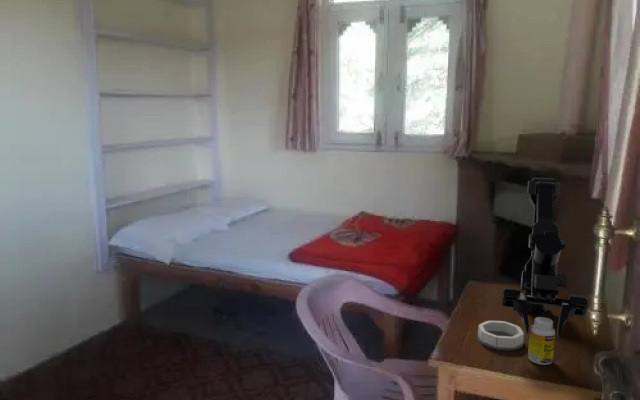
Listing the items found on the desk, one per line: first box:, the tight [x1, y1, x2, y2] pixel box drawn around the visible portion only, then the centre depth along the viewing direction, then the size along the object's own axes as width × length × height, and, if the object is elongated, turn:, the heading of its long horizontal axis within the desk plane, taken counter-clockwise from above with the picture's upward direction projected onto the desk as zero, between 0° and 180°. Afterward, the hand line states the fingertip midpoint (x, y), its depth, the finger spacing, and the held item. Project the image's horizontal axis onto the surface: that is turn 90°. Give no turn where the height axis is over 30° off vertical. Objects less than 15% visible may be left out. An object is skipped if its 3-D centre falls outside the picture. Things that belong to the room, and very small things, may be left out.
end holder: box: [477, 320, 525, 352], centre depth 137 cm, size 11×11×3 cm
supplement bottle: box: [527, 316, 557, 366], centre depth 126 cm, size 6×6×10 cm
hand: (542, 334), depth 124 cm, fingers open, 6 cm apart
